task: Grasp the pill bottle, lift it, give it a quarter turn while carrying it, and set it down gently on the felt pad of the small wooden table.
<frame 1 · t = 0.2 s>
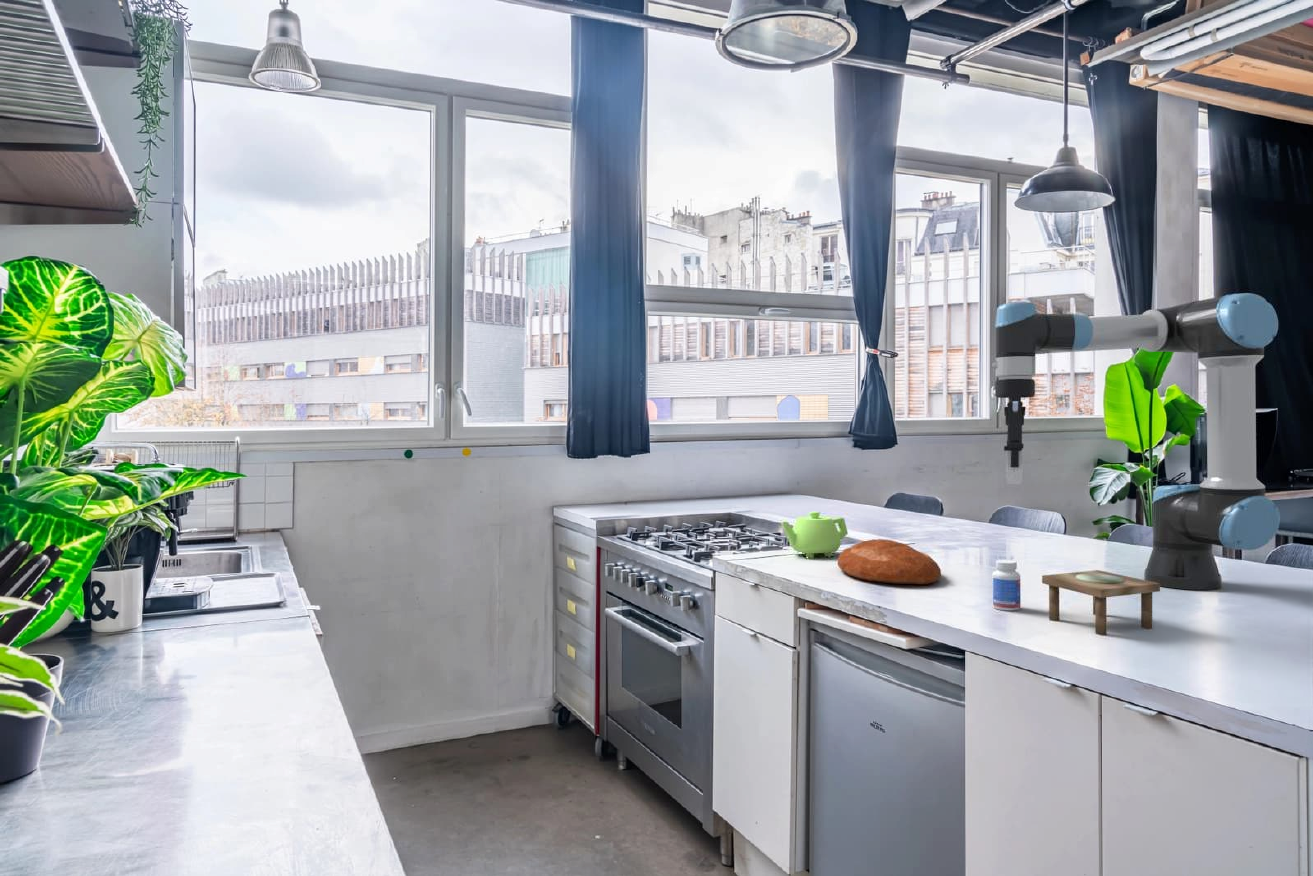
hand: (1013, 481, 169), 26 cm above the worktop, fingers open, 13 cm apart
small wooden table: (1099, 623, 156), on the worktop
teapot: (814, 556, 237), on the worktop
bread: (887, 577, 206), on the worktop
pill bottle: (1006, 609, 170), on the worktop
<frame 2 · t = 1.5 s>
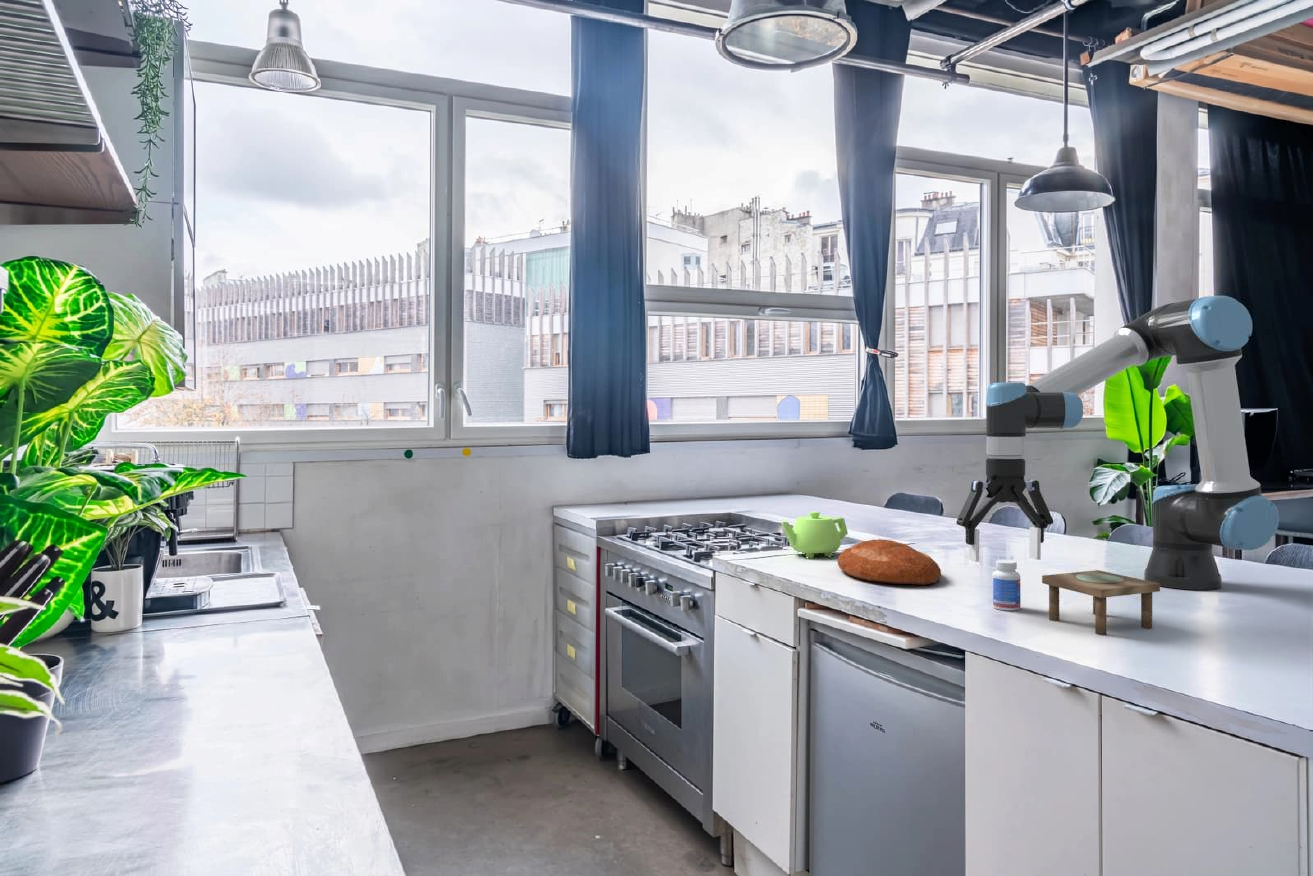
hand: (1004, 559, 170), 10 cm above the worktop, fingers open, 13 cm apart
nothing on the worktop moved.
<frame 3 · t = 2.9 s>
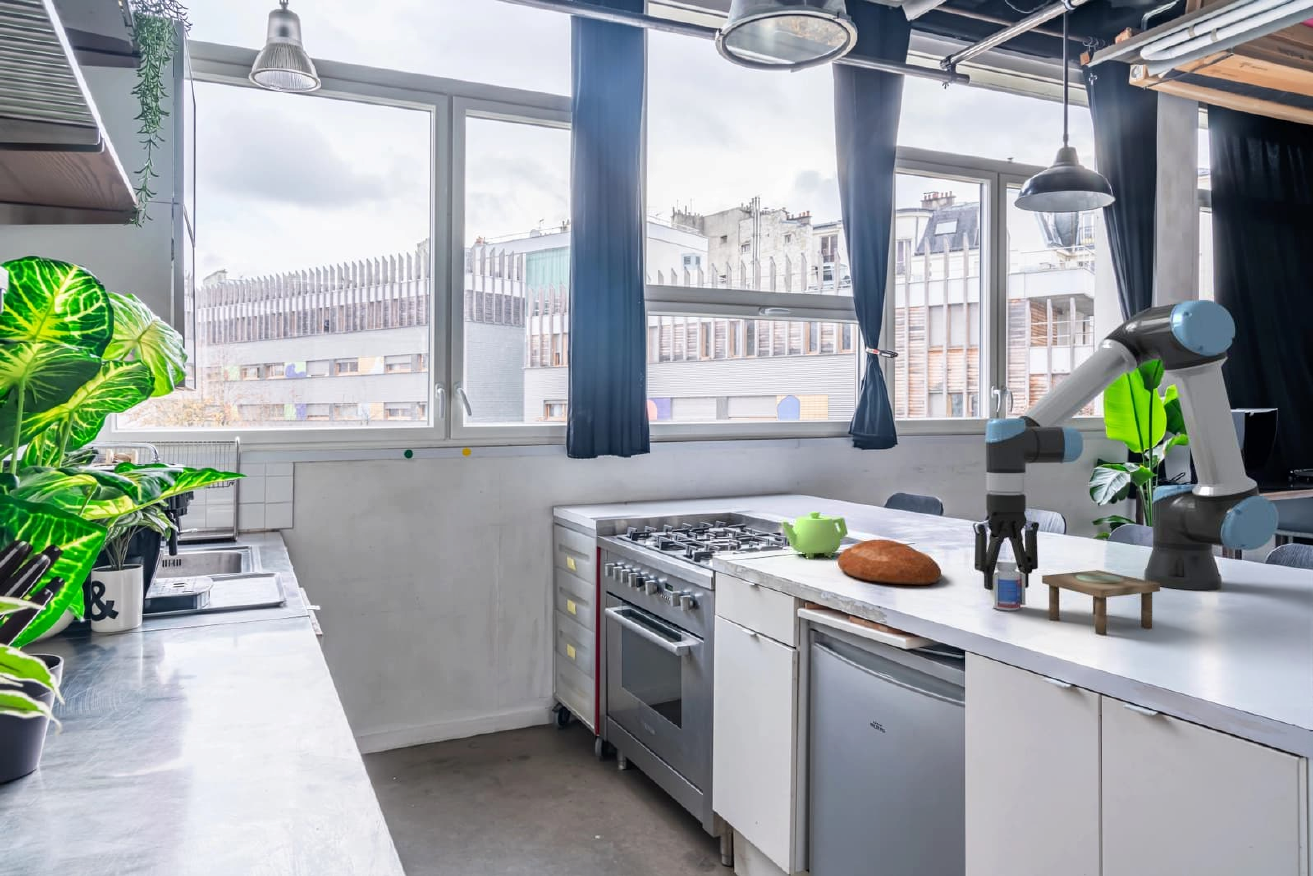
hand: (1006, 604, 170), 1 cm above the worktop, fingers closed on pill bottle, 5 cm apart
pill bottle: (1006, 609, 170), on the worktop, touching gripper
everything else where it was.
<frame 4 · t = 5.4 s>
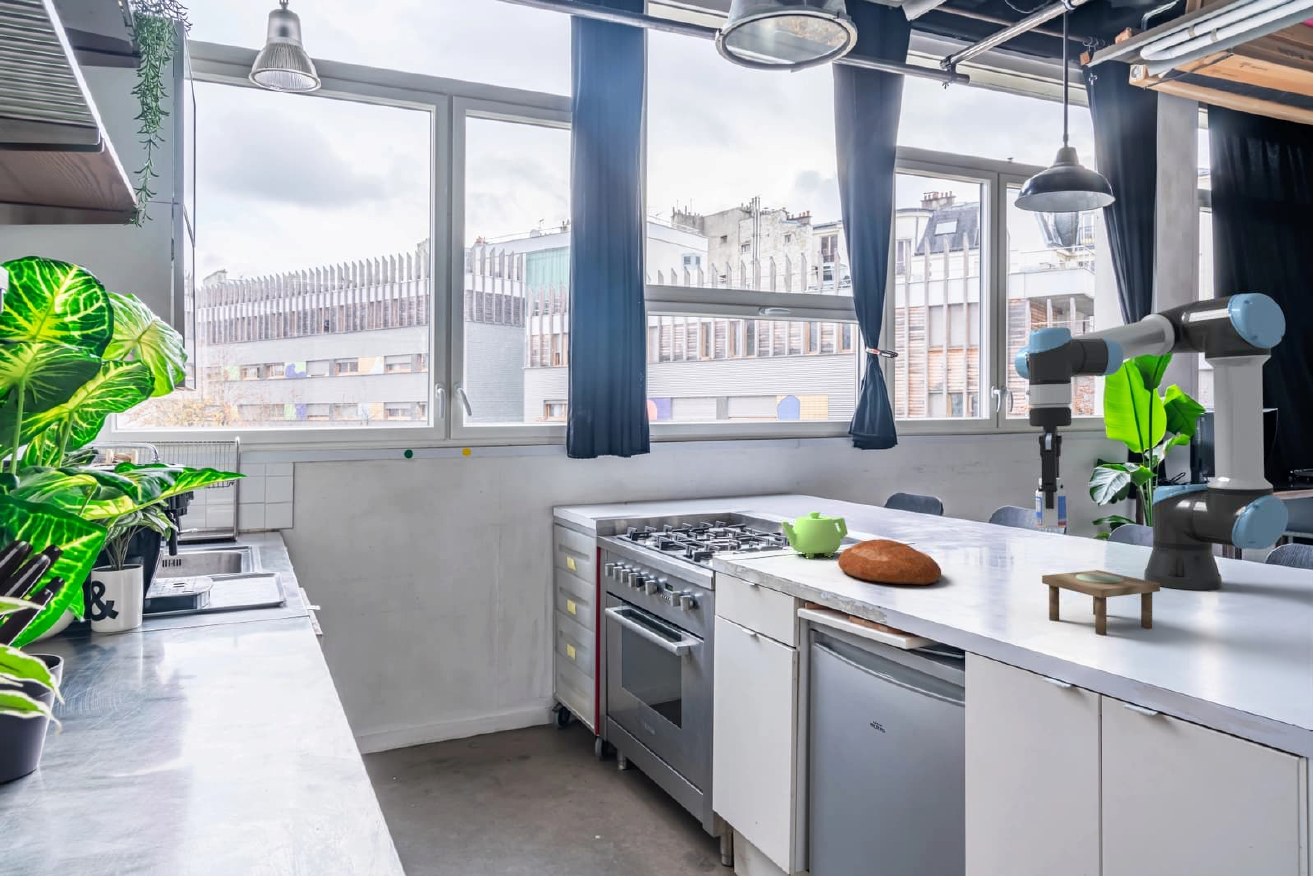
hand: (1051, 522, 163), 19 cm above the worktop, fingers closed on pill bottle, 5 cm apart
pill bottle: (1051, 528, 163), point 17 cm above the worktop, touching gripper
everything else where it was.
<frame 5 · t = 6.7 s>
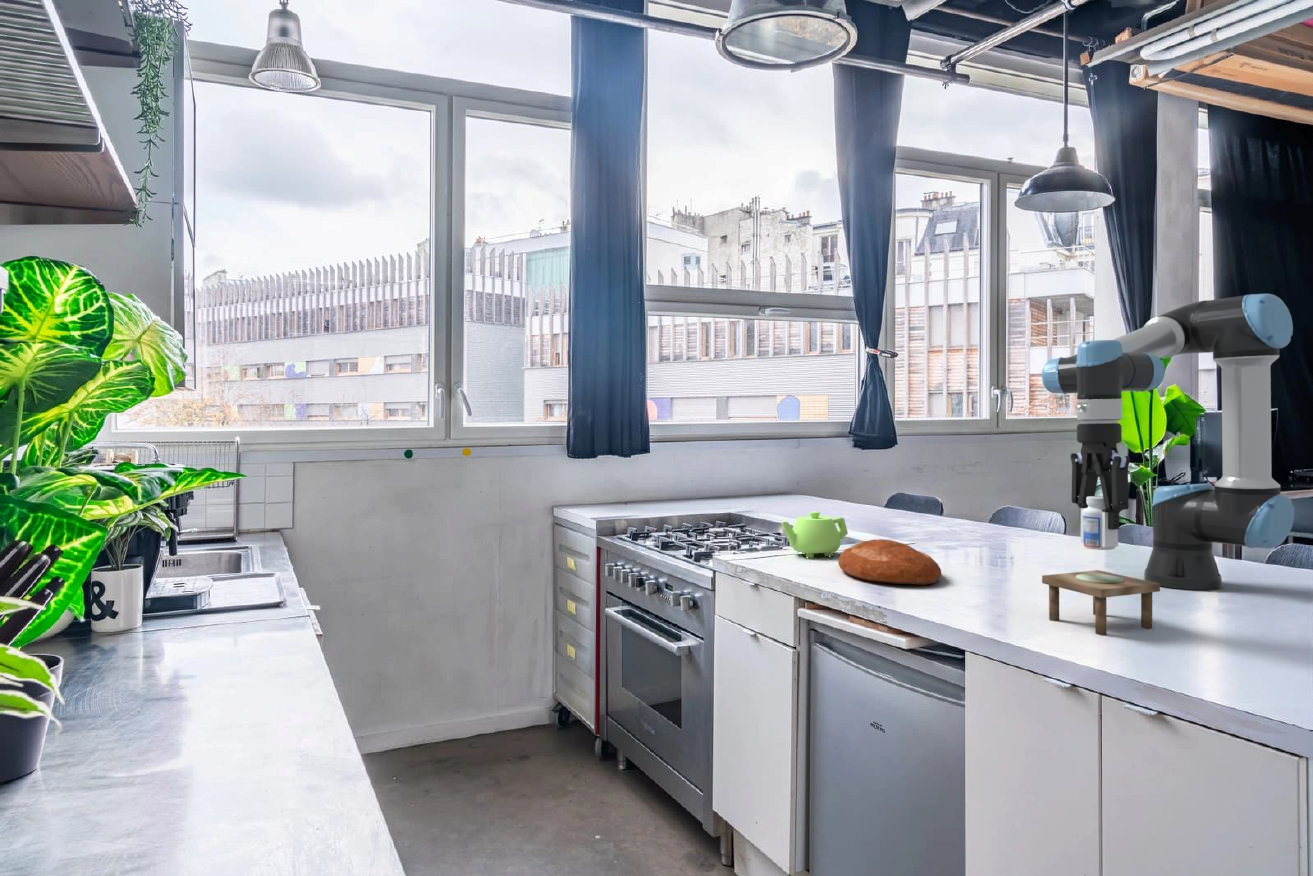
hand: (1098, 543, 156), 15 cm above the worktop, fingers closed on pill bottle, 5 cm apart
pill bottle: (1098, 549, 156), point 14 cm above the worktop, touching gripper
everything else where it was.
when the fingers open (11 cm above the worktop, at t = 7.7 s): pill bottle drops 1 cm, resting on small wooden table.
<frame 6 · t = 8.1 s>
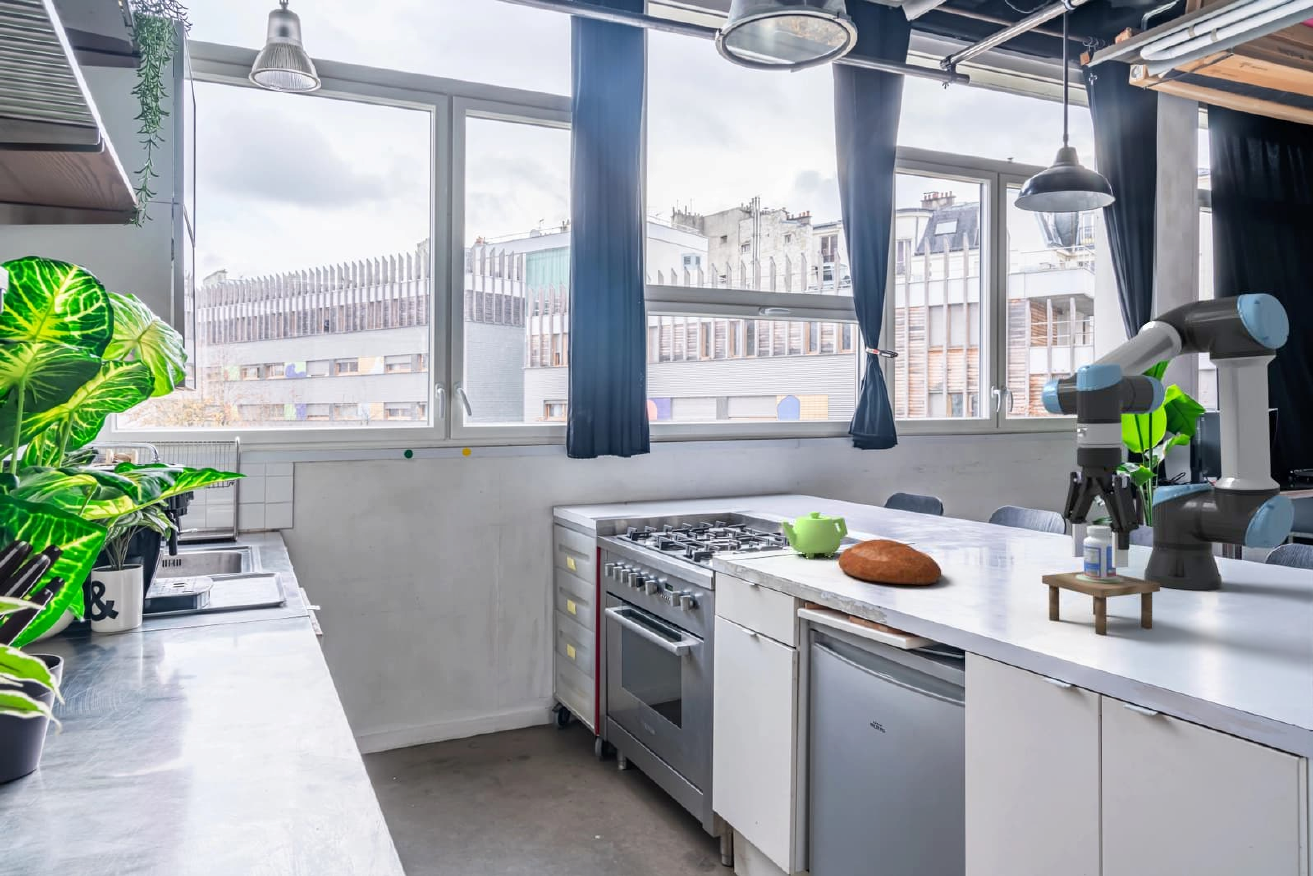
hand: (1099, 561, 156), 12 cm above the worktop, fingers open, 10 cm apart
pill bottle: (1099, 578, 156), point 9 cm above the worktop, touching small wooden table
everything else where it was.
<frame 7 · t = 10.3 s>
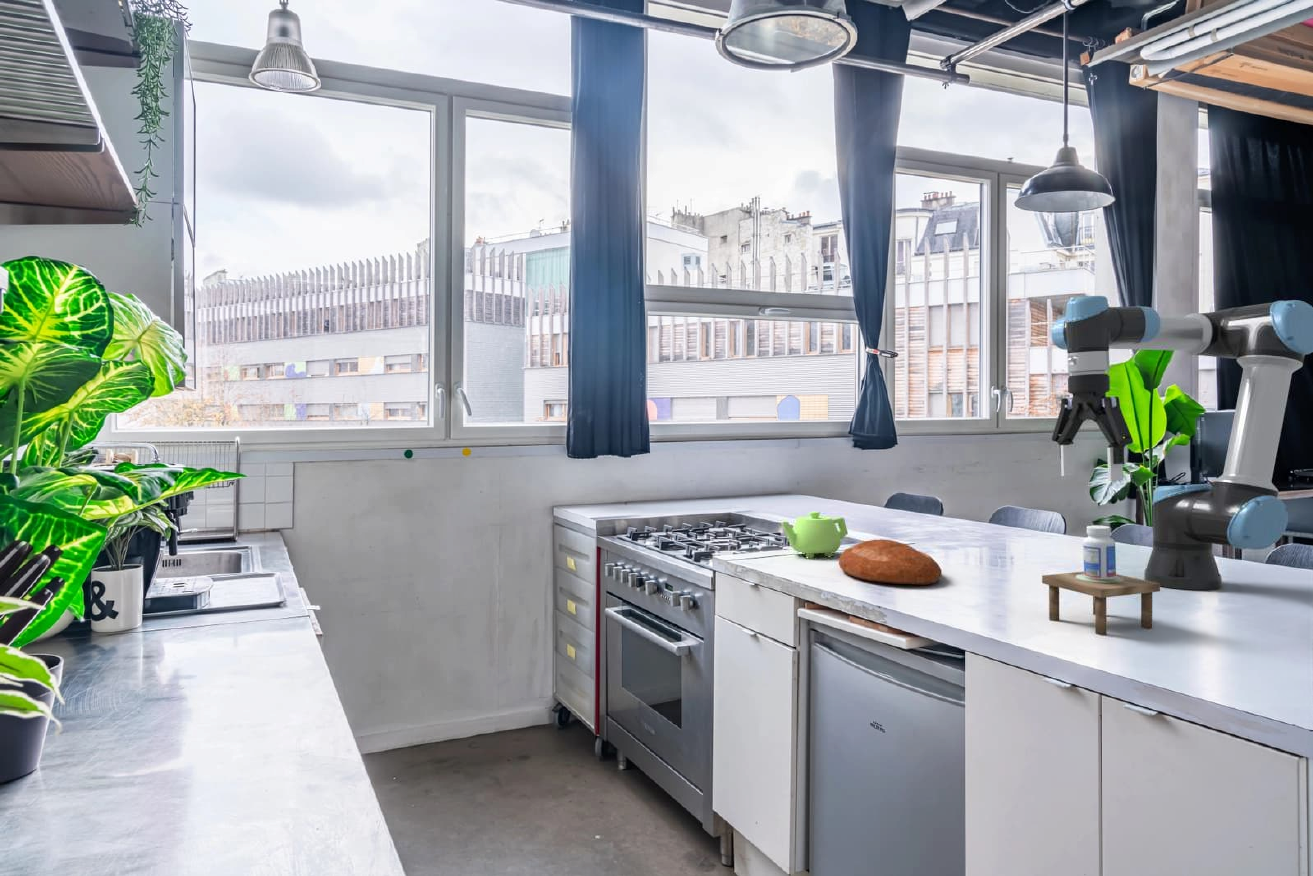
hand: (1091, 478, 167), 27 cm above the worktop, fingers open, 13 cm apart
nothing on the worktop moved.
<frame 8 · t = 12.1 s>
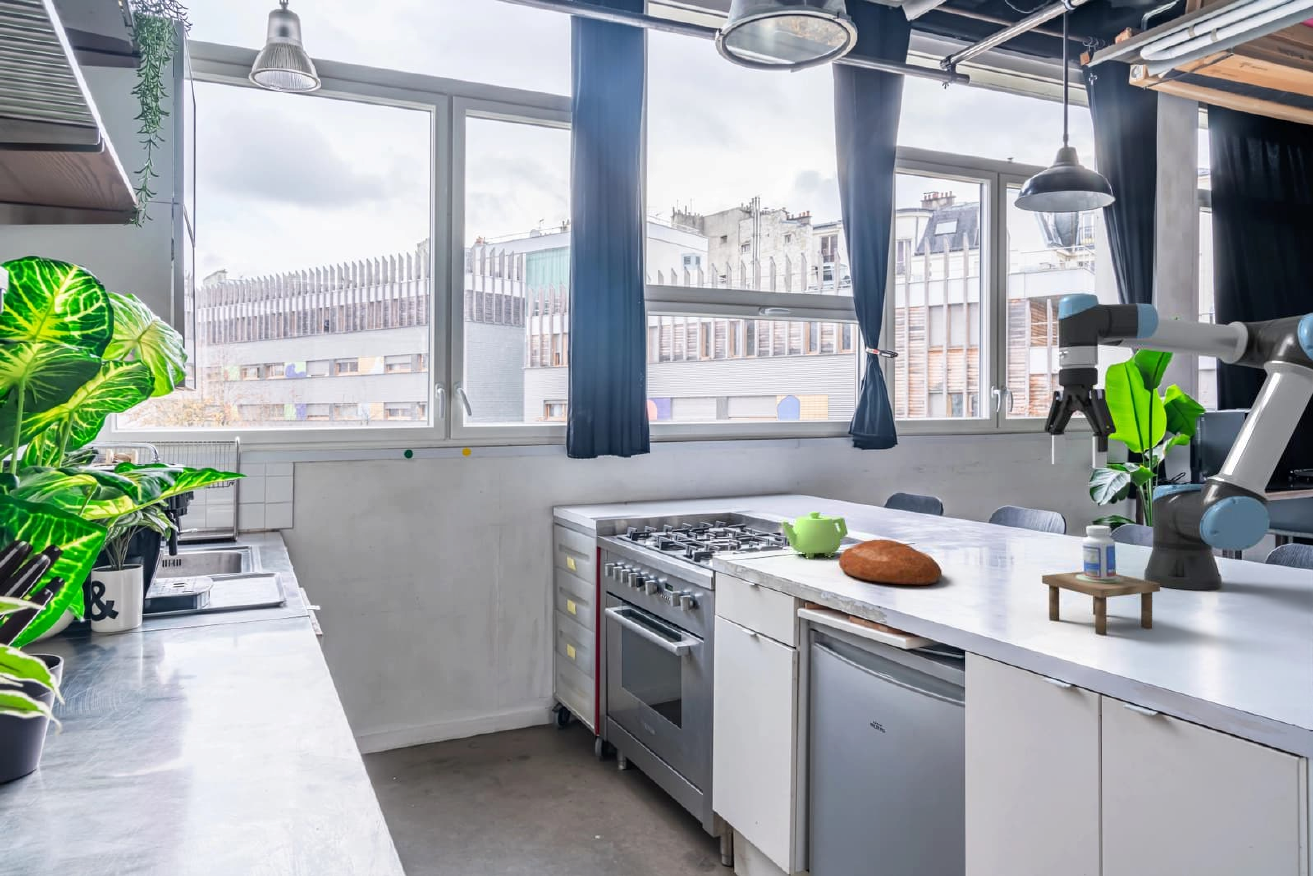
hand: (1078, 466, 177), 29 cm above the worktop, fingers open, 13 cm apart
nothing on the worktop moved.
at the end: pill bottle inside the target area on the small wooden table (0.1 cm from its centre), point 8.6 cm above the small wooden table's base; pill bottle tilted 1°; the gripper is holding nothing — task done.
